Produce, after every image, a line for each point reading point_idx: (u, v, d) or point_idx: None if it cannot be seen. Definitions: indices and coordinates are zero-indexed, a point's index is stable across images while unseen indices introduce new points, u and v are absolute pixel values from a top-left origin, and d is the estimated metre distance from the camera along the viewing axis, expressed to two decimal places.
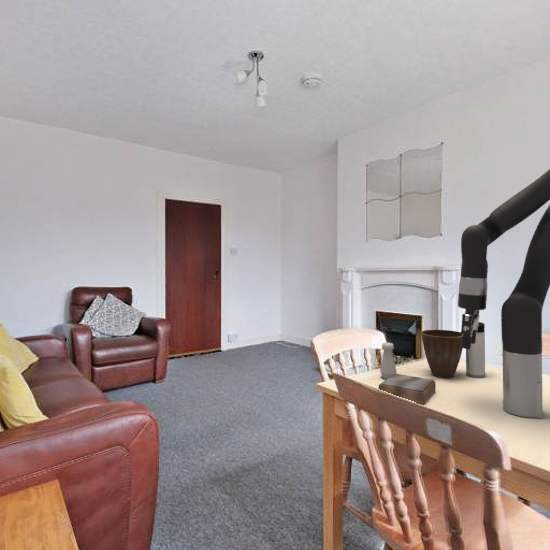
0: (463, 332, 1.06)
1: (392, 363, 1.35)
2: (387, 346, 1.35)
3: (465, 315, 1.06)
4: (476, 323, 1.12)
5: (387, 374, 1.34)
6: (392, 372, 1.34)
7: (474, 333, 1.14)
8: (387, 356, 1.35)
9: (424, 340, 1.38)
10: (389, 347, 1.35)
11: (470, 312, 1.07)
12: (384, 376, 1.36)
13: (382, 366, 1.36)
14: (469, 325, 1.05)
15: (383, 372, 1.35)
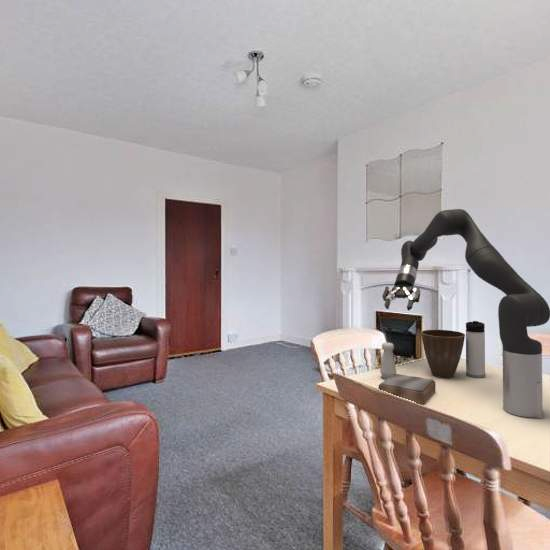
0: None
1: (392, 363, 1.35)
2: (387, 346, 1.35)
3: None
4: (405, 293, 1.47)
5: (387, 374, 1.34)
6: (392, 372, 1.34)
7: None
8: (387, 356, 1.35)
9: (424, 340, 1.38)
10: (389, 347, 1.35)
11: None
12: (384, 376, 1.36)
13: (382, 366, 1.36)
14: None
15: (383, 372, 1.35)
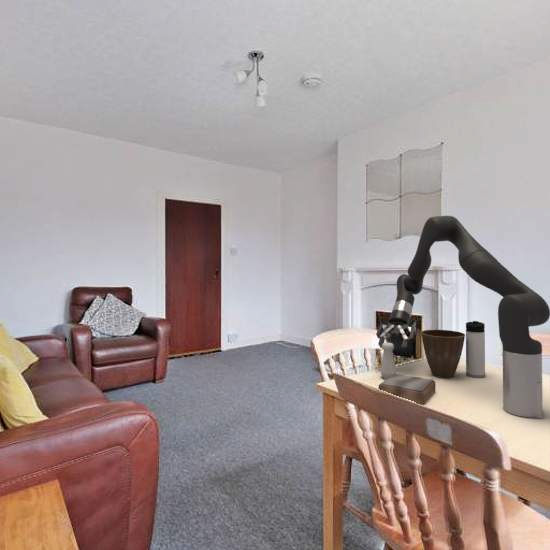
0: None
1: (392, 363, 1.35)
2: (387, 346, 1.35)
3: None
4: (400, 332, 1.41)
5: (387, 374, 1.34)
6: (392, 372, 1.34)
7: None
8: (387, 356, 1.35)
9: (424, 340, 1.38)
10: (389, 347, 1.35)
11: None
12: (384, 376, 1.36)
13: (382, 366, 1.36)
14: None
15: (383, 372, 1.35)
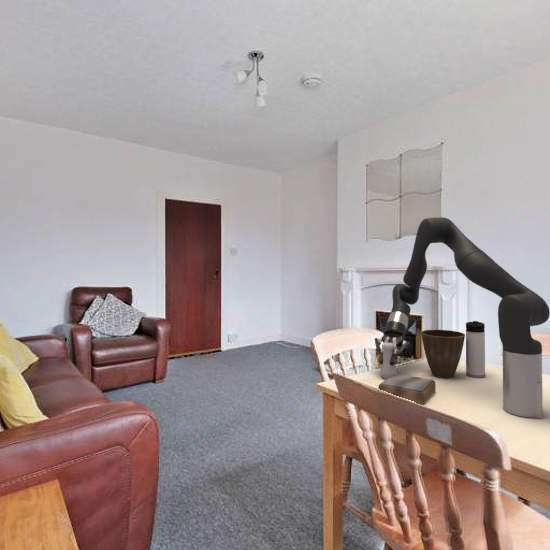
0: None
1: None
2: (387, 346, 1.35)
3: None
4: None
5: (387, 374, 1.34)
6: (392, 372, 1.34)
7: None
8: (387, 356, 1.35)
9: (424, 340, 1.38)
10: (389, 347, 1.35)
11: None
12: (384, 376, 1.36)
13: (382, 366, 1.36)
14: None
15: (383, 372, 1.35)
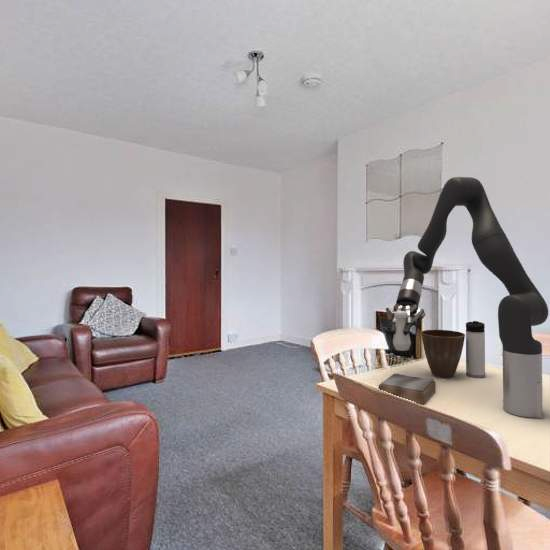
0: None
1: None
2: (400, 313, 1.23)
3: None
4: None
5: (400, 345, 1.22)
6: (406, 342, 1.22)
7: None
8: (400, 325, 1.23)
9: (424, 340, 1.38)
10: (402, 315, 1.22)
11: None
12: (397, 347, 1.23)
13: (395, 336, 1.24)
14: (387, 315, 1.30)
15: (396, 343, 1.23)
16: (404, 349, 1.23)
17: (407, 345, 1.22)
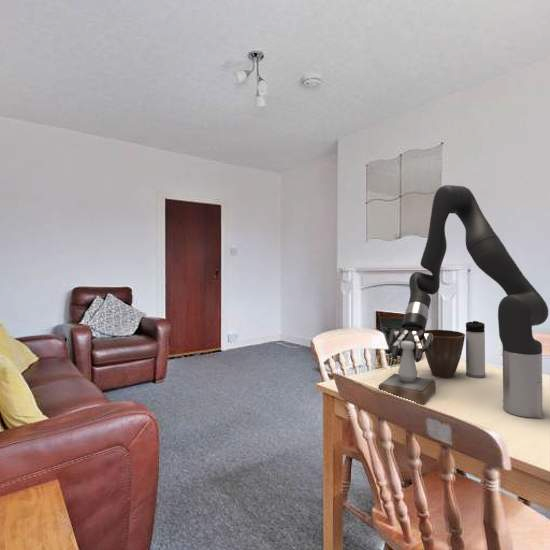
0: None
1: (413, 364, 1.18)
2: (407, 344, 1.18)
3: None
4: (414, 339, 1.20)
5: (406, 377, 1.18)
6: (412, 374, 1.18)
7: None
8: (407, 356, 1.19)
9: (424, 340, 1.38)
10: (409, 346, 1.18)
11: None
12: (403, 379, 1.19)
13: (401, 367, 1.20)
14: None
15: (402, 374, 1.19)
16: (410, 381, 1.18)
17: (413, 377, 1.18)
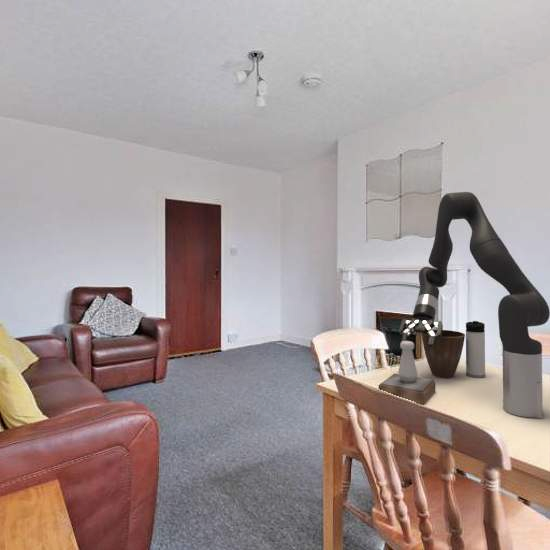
0: None
1: (412, 364, 1.18)
2: (406, 344, 1.18)
3: None
4: (426, 328, 1.30)
5: (406, 377, 1.18)
6: (412, 375, 1.18)
7: None
8: (407, 356, 1.19)
9: (424, 340, 1.38)
10: (409, 346, 1.18)
11: None
12: (403, 379, 1.19)
13: (401, 368, 1.20)
14: None
15: (402, 374, 1.19)
16: (410, 381, 1.18)
17: (413, 377, 1.18)
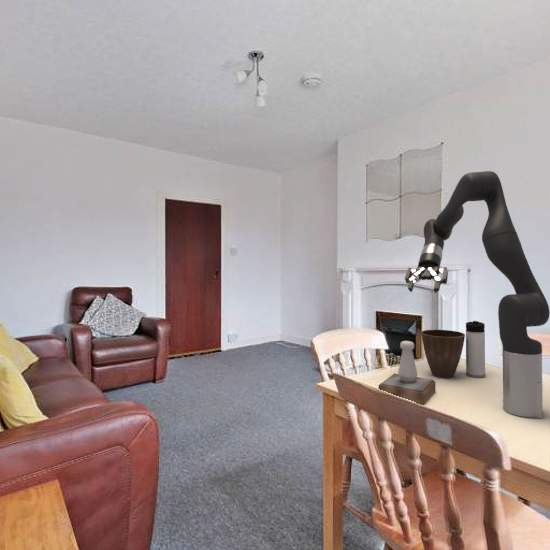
0: None
1: (412, 364, 1.18)
2: (406, 344, 1.18)
3: None
4: (431, 274, 1.33)
5: (406, 377, 1.18)
6: (412, 375, 1.18)
7: None
8: (407, 356, 1.19)
9: (424, 340, 1.38)
10: (409, 346, 1.18)
11: None
12: (403, 379, 1.19)
13: (401, 368, 1.20)
14: None
15: (402, 374, 1.19)
16: (410, 381, 1.18)
17: (413, 377, 1.18)
